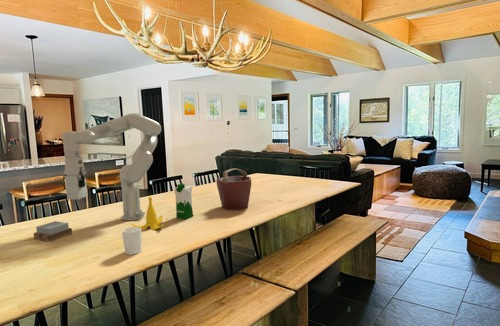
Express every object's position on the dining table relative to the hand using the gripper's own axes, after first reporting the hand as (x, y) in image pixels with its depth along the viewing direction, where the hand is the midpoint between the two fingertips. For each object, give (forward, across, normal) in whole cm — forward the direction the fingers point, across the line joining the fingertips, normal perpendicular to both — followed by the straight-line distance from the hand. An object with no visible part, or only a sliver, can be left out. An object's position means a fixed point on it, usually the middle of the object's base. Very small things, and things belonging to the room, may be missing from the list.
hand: (76, 186), depth 181 cm
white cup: (+23, -54, +17) cm, 61 cm away
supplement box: (+6, 0, 0) cm, 6 cm away
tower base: (+22, 0, +16) cm, 27 cm away
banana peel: (+24, -36, -12) cm, 45 cm away
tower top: (+19, 0, +16) cm, 25 cm away
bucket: (+24, -61, -66) cm, 93 cm away
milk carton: (+24, -44, -35) cm, 61 cm away
